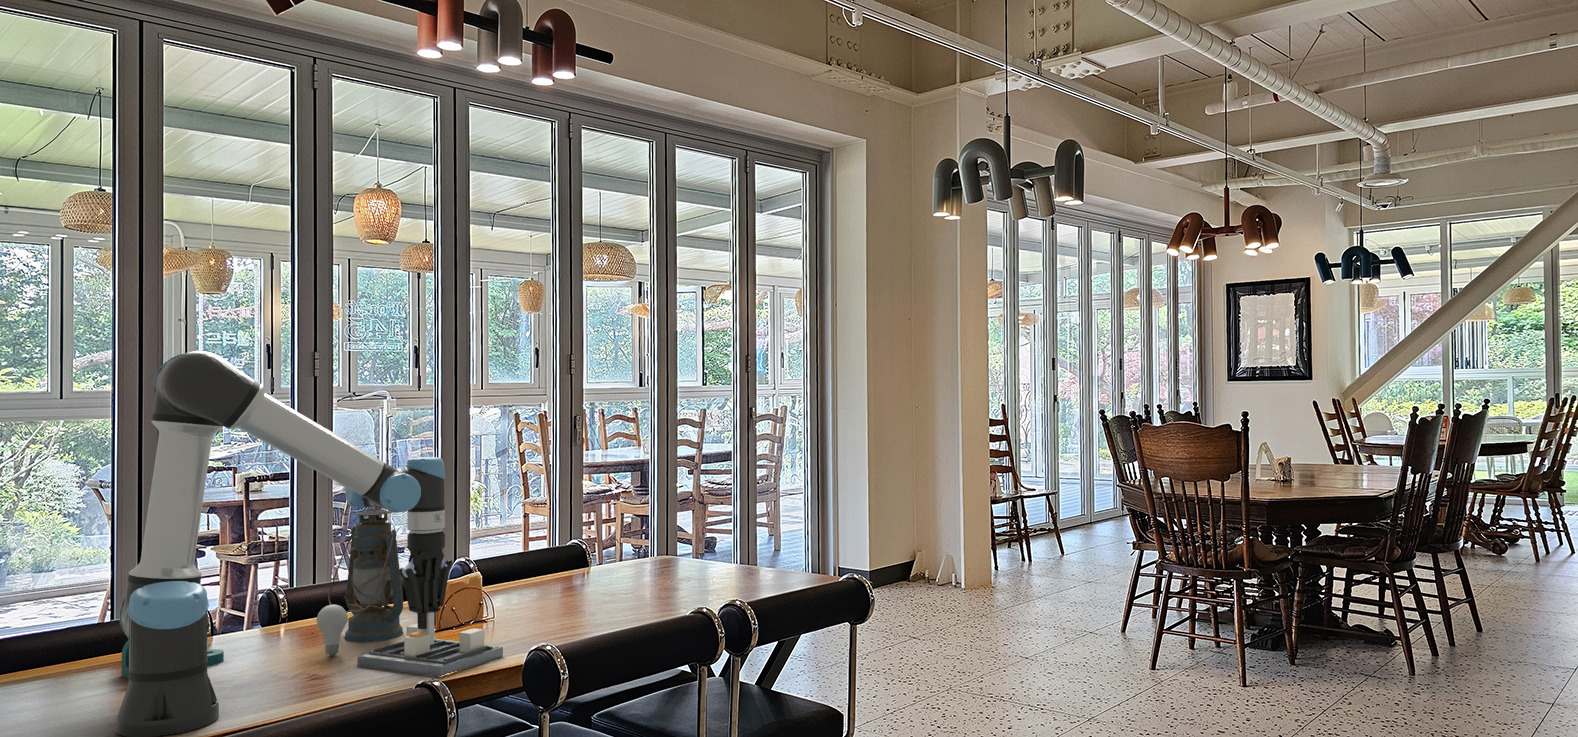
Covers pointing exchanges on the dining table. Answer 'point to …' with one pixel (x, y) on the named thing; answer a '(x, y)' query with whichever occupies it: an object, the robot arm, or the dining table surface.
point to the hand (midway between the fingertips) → (426, 643)
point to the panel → (429, 658)
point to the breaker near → (471, 639)
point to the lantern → (373, 580)
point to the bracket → (212, 658)
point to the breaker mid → (416, 644)
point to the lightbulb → (332, 626)
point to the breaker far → (412, 629)
